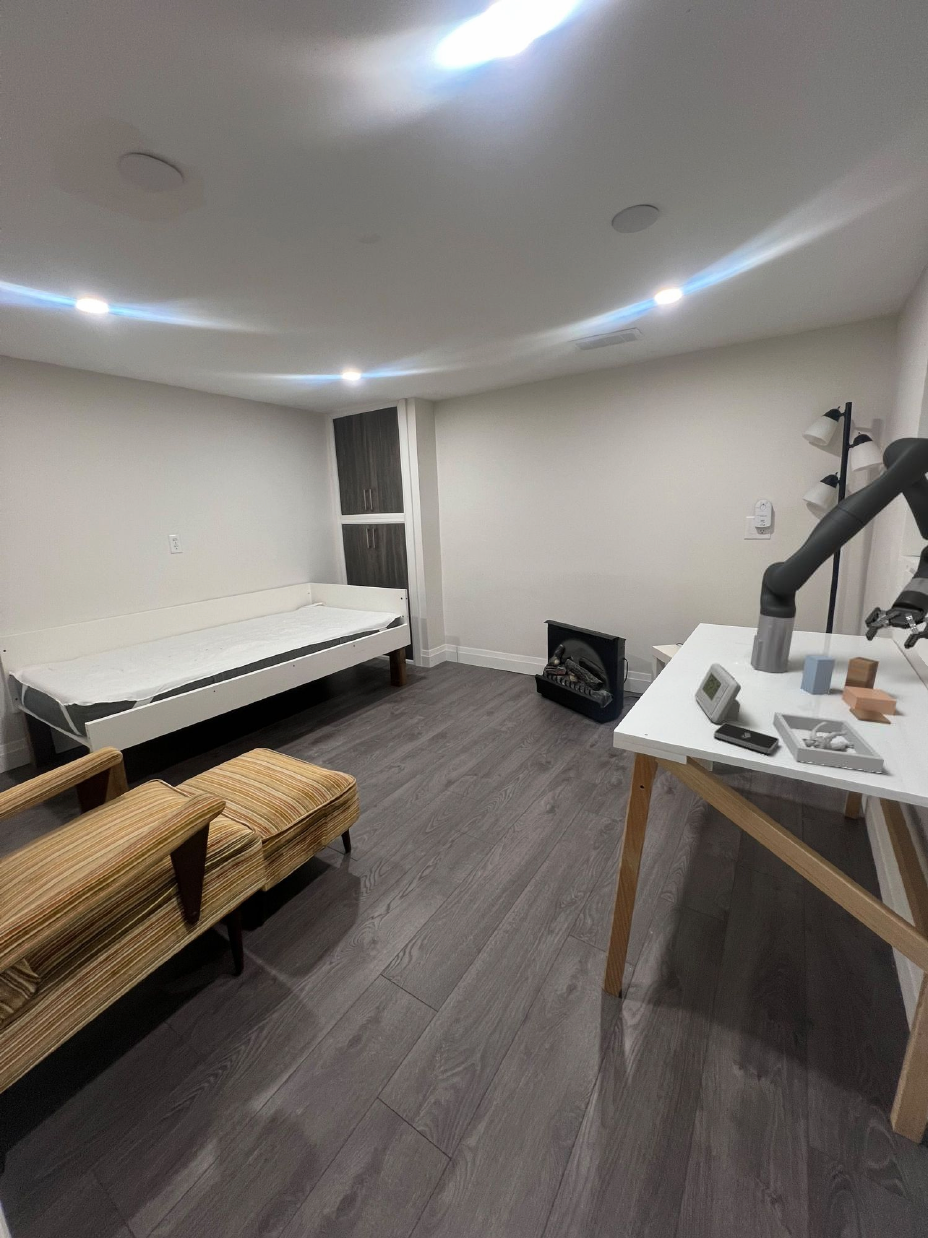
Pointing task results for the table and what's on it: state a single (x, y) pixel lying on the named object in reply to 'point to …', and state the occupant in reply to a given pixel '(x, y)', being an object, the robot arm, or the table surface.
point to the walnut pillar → (861, 673)
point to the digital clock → (719, 695)
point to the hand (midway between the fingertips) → (886, 643)
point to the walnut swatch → (869, 716)
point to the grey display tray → (862, 760)
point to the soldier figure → (825, 739)
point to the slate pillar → (817, 674)
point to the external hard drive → (746, 739)
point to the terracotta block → (869, 700)
